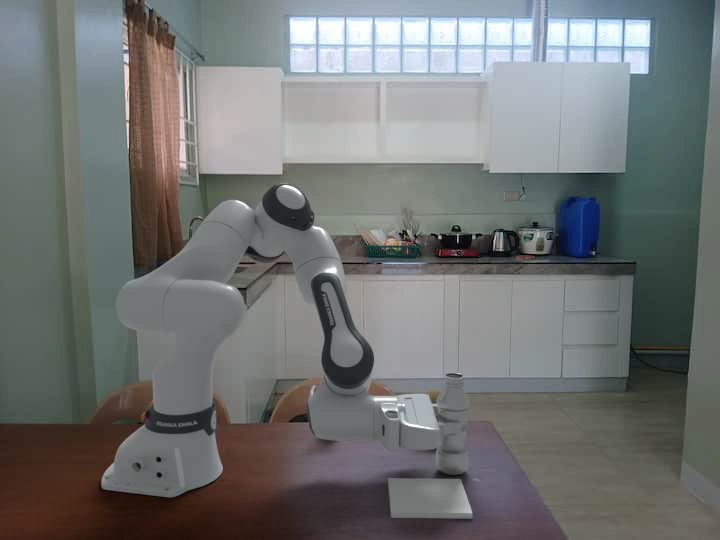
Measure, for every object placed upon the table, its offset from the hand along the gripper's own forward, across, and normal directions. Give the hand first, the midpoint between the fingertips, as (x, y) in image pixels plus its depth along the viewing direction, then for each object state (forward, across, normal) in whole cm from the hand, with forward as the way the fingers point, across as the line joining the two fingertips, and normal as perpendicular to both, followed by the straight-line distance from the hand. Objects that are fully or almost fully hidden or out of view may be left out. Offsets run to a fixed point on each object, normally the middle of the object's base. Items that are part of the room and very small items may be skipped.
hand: (457, 419), depth 115 cm
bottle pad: (-7, +11, -11) cm, 17 cm away
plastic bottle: (-1, 0, -11) cm, 11 cm away
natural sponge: (-2, -19, -11) cm, 22 cm away
